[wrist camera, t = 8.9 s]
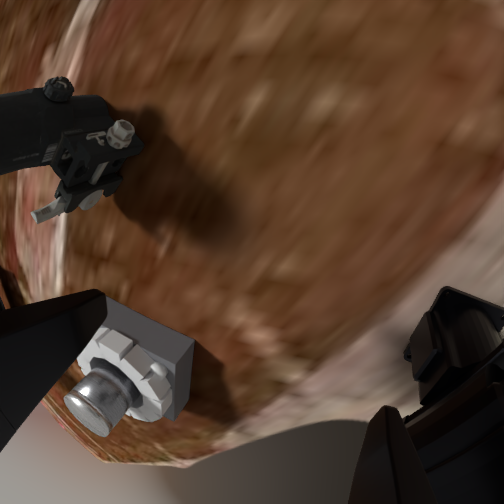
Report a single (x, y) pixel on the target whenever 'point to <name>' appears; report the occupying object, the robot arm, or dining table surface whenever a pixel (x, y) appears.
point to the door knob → (102, 397)
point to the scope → (65, 143)
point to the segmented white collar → (144, 360)
